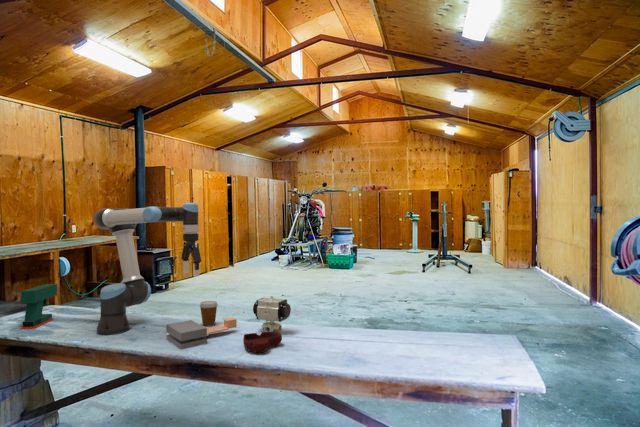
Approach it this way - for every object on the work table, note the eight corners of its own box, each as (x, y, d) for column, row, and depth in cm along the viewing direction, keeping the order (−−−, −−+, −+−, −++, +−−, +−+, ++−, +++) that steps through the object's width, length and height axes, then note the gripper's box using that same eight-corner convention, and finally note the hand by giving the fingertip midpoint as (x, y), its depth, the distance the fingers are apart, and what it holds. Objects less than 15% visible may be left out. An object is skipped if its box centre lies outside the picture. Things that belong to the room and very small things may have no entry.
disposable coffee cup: (212, 327, 209) (212, 304, 209) (196, 326, 211) (196, 304, 211) (221, 322, 218) (220, 301, 218) (205, 322, 220) (204, 300, 220)
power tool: (53, 314, 240) (53, 281, 240) (65, 314, 241) (65, 281, 241) (19, 329, 209) (19, 291, 209) (34, 329, 209) (33, 291, 210)
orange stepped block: (204, 334, 188) (204, 326, 188) (198, 331, 194) (198, 323, 194) (237, 327, 200) (237, 319, 200) (231, 324, 205) (231, 317, 205)
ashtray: (256, 339, 189) (256, 329, 189) (285, 344, 181) (285, 333, 181) (231, 350, 173) (231, 339, 173) (261, 356, 165) (261, 344, 165)
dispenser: (181, 349, 175) (180, 333, 175) (166, 339, 190) (166, 324, 190) (209, 342, 183) (208, 327, 183) (192, 333, 198) (192, 319, 198)
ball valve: (251, 332, 199) (251, 297, 199) (260, 328, 207) (260, 294, 207) (283, 336, 192) (283, 299, 192) (291, 331, 200) (290, 296, 200)
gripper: (174, 232, 210) (174, 273, 210) (193, 234, 191) (193, 278, 190) (188, 232, 215) (188, 271, 214) (208, 233, 195) (208, 276, 195)
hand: (191, 274), depth 202 cm, fingers open, 13 cm apart
